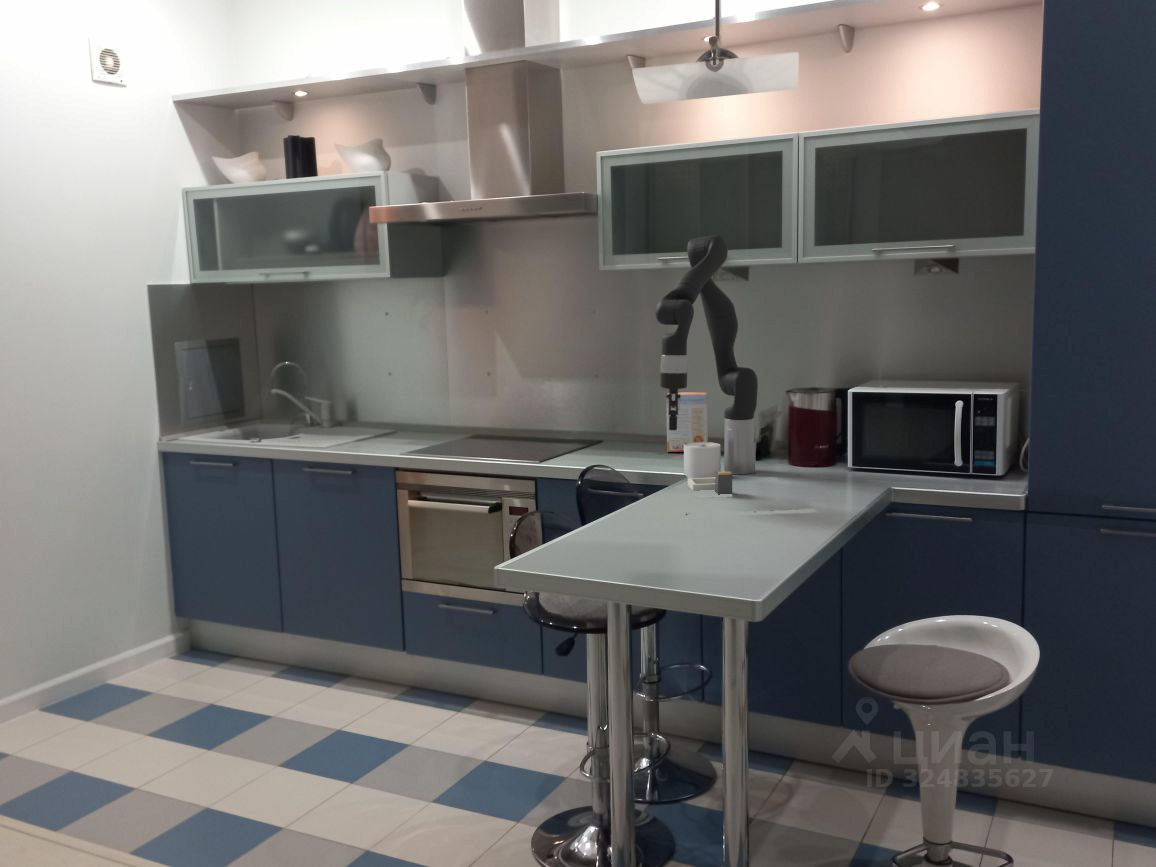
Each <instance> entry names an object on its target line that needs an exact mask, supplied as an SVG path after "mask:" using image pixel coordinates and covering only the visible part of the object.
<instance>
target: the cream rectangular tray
mask: <svg viewBox="0 0 1156 867" xmlns="http://www.w3.org/2000/svg"><path fill="white" fill-rule="evenodd" d="M687 485H688V486H689V487H690V488H691V489H692V490H693V491H700V490H715V477H710V478H687Z"/></svg>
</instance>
